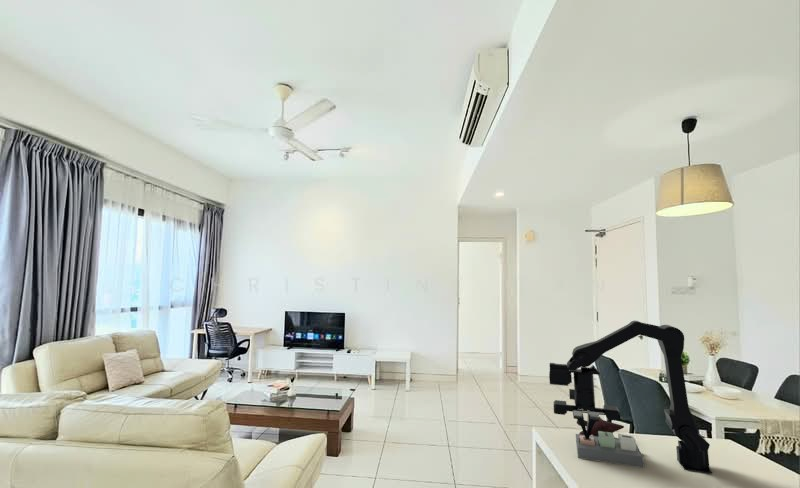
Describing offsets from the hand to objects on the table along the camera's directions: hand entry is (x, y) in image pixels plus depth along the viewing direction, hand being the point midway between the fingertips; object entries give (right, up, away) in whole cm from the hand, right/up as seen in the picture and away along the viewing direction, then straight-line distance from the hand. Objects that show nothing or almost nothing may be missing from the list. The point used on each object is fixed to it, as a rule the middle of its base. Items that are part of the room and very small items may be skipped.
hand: (587, 438), depth 118 cm
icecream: (+10, -5, +10) cm, 15 cm away
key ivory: (+10, -1, -4) cm, 11 cm away
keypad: (+5, -4, -2) cm, 7 cm away
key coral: (0, -4, 0) cm, 4 cm away
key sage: (+5, -2, -2) cm, 6 cm away
